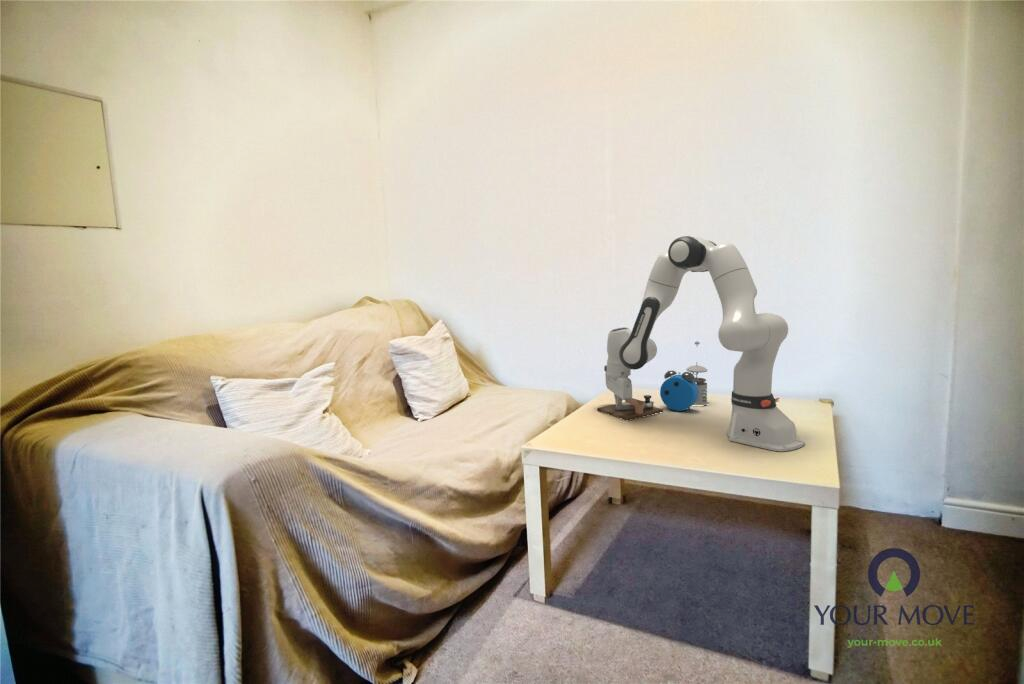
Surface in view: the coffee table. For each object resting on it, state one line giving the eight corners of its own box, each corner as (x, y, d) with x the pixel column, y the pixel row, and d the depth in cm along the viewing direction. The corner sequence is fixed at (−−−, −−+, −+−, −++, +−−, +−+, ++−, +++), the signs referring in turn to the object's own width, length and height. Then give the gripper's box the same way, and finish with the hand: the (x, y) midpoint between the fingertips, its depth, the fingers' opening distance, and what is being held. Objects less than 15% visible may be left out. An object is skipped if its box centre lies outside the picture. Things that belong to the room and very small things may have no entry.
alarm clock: (698, 410, 201) (699, 371, 199) (693, 414, 196) (693, 374, 194) (665, 405, 209) (665, 368, 207) (659, 409, 204) (659, 371, 202)
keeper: (644, 412, 196) (644, 401, 195) (638, 414, 194) (638, 402, 193) (631, 409, 201) (631, 397, 201) (625, 410, 200) (625, 399, 199)
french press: (684, 406, 207) (685, 343, 204) (681, 398, 218) (682, 338, 215) (711, 406, 205) (712, 342, 201) (707, 399, 216) (708, 338, 213)
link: (651, 405, 204) (651, 394, 203) (655, 408, 200) (655, 397, 199) (615, 407, 203) (614, 396, 202) (618, 410, 198) (618, 399, 198)
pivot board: (662, 412, 200) (663, 409, 199) (627, 420, 191) (627, 417, 190) (632, 403, 214) (632, 400, 214) (597, 410, 205) (597, 407, 205)
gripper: (636, 375, 191) (636, 412, 193) (618, 364, 211) (617, 398, 213) (619, 376, 190) (619, 413, 192) (602, 365, 210) (602, 399, 213)
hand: (618, 405), depth 203 cm, fingers closed
